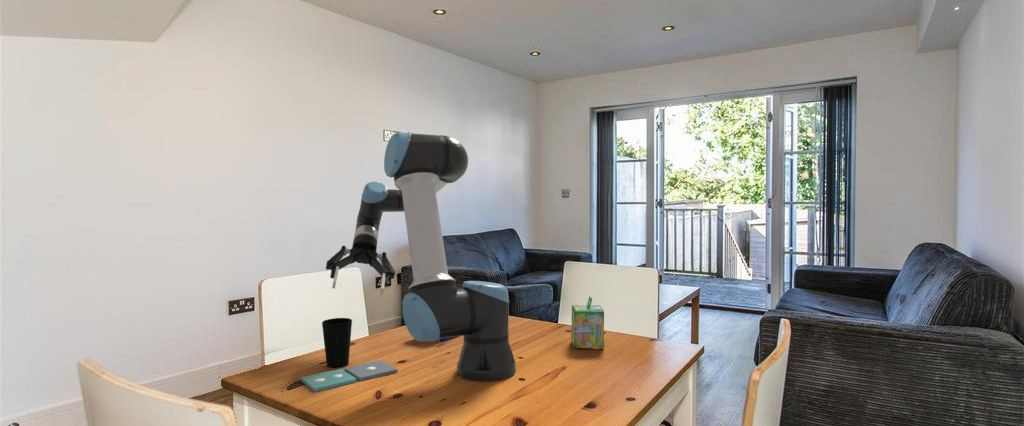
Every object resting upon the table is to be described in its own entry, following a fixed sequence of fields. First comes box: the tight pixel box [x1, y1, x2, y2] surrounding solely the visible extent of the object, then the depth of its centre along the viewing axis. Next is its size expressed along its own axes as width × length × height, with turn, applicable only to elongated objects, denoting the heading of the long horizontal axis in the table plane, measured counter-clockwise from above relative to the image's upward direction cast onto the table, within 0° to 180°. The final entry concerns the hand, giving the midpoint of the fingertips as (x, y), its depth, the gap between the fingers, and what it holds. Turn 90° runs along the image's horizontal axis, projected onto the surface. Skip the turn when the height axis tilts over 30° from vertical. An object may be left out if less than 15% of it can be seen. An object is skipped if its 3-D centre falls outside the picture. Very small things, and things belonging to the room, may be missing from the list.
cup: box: [321, 317, 353, 369], centre depth 136 cm, size 8×8×12 cm
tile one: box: [344, 359, 399, 382], centre depth 131 cm, size 10×10×1 cm
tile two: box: [300, 368, 358, 393], centre depth 124 cm, size 10×10×1 cm
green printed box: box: [570, 296, 605, 349], centre depth 154 cm, size 9×9×15 cm
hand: (358, 288), depth 146 cm, fingers open, 13 cm apart
